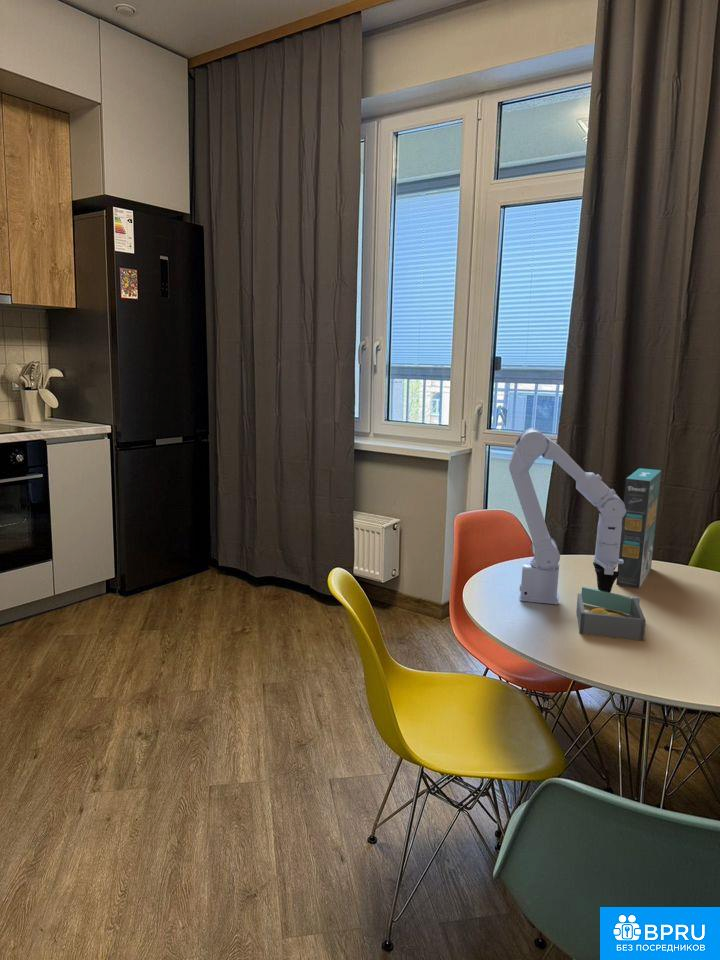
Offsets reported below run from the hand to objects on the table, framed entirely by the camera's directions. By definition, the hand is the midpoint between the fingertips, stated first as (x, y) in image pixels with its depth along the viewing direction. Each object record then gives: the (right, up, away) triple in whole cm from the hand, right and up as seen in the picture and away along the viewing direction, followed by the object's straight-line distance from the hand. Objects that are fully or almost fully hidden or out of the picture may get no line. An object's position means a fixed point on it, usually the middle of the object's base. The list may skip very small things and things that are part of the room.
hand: (603, 593), depth 173 cm
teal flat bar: (0, -3, -4) cm, 5 cm away
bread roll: (-5, -6, -14) cm, 16 cm away
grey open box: (-3, -5, -13) cm, 14 cm away
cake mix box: (+17, +1, +24) cm, 29 cm away
